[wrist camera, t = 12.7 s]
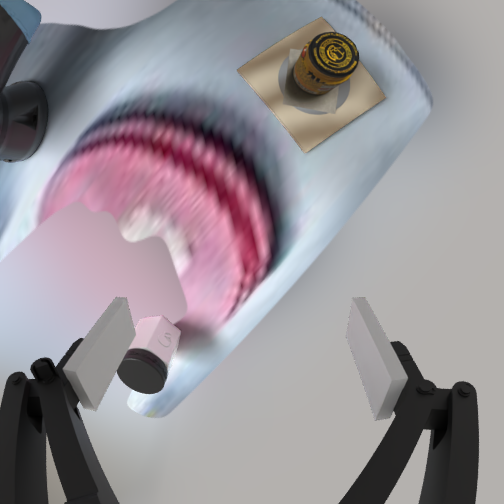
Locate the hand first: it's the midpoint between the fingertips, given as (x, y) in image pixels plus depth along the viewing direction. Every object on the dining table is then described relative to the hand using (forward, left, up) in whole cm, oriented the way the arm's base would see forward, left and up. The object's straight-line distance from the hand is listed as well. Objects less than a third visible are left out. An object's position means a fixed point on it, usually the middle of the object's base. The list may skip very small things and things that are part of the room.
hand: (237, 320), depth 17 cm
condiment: (-9, +18, -28) cm, 34 cm away
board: (-9, +18, -29) cm, 35 cm away
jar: (+8, -28, -29) cm, 41 cm away
